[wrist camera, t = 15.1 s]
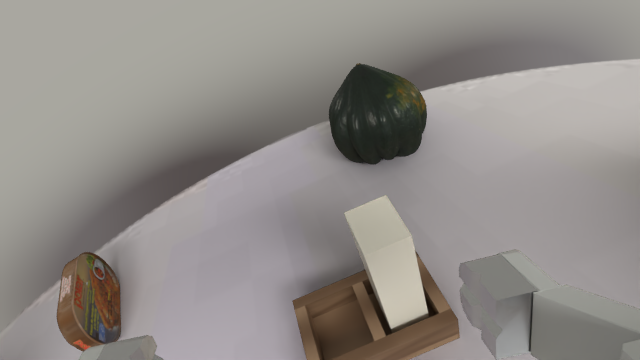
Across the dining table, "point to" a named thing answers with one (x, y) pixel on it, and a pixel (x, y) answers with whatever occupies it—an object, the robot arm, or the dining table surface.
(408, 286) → the cream rectangular block
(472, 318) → the robot arm
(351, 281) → the walnut rack
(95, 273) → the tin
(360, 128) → the squash
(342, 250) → the dining table surface
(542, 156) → the dining table surface
